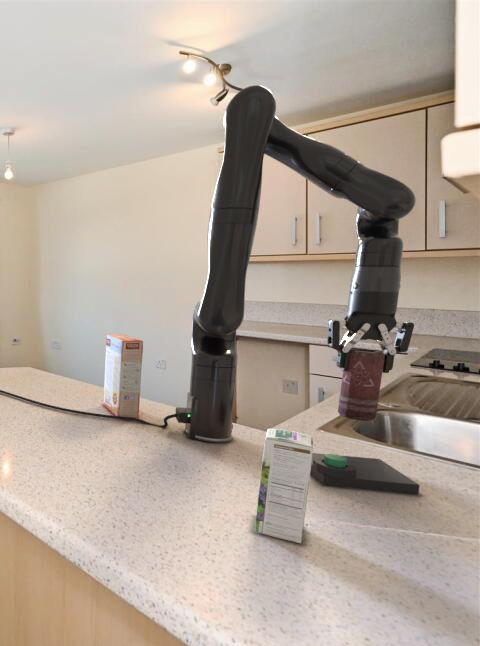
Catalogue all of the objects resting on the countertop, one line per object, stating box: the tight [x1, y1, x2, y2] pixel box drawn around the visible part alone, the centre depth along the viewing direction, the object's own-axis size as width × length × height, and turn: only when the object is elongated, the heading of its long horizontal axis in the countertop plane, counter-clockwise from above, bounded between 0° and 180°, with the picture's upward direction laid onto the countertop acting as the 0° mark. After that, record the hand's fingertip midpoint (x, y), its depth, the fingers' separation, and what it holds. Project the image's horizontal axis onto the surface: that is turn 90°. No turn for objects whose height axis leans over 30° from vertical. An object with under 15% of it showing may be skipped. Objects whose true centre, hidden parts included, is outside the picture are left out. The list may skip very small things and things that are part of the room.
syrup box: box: [254, 428, 314, 544], centre depth 68 cm, size 6×6×14 cm
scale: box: [310, 452, 420, 496], centre depth 87 cm, size 15×13×4 cm
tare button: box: [324, 453, 347, 468], centre depth 85 cm, size 3×3×2 cm
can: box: [337, 348, 385, 422], centre depth 96 cm, size 6×6×14 cm
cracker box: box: [102, 333, 144, 419], centre depth 128 cm, size 14×6×21 cm, turn 179°
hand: (363, 370), depth 96 cm, fingers closed on can, 6 cm apart
